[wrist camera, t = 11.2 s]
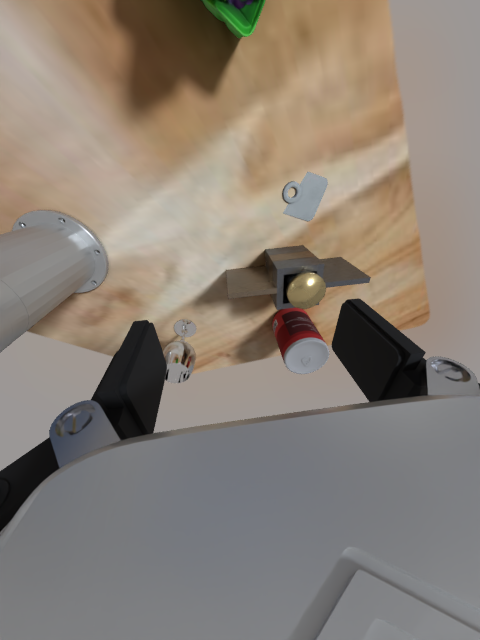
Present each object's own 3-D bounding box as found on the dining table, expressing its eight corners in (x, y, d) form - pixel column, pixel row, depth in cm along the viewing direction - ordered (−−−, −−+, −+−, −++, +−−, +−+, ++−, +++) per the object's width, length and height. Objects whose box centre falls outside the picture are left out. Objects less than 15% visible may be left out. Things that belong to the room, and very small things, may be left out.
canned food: (282, 341, 48) (297, 380, 39) (264, 318, 44) (275, 355, 35) (313, 324, 46) (336, 361, 37) (297, 297, 42) (318, 332, 33)
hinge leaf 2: (265, 284, 40) (276, 309, 32) (265, 249, 36) (277, 269, 28) (337, 276, 40) (364, 299, 32) (343, 240, 36) (375, 258, 29)
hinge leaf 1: (303, 245, 36) (324, 263, 29) (300, 280, 40) (318, 304, 32) (223, 254, 36) (225, 275, 28) (228, 288, 39) (230, 315, 32)
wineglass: (195, 341, 46) (189, 387, 36) (168, 335, 44) (153, 382, 35) (202, 320, 43) (197, 364, 33) (173, 313, 42) (159, 357, 32)
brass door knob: (272, 252, 36) (289, 276, 28) (302, 249, 36) (328, 272, 28) (272, 280, 39) (287, 310, 31) (300, 277, 39) (323, 306, 31)
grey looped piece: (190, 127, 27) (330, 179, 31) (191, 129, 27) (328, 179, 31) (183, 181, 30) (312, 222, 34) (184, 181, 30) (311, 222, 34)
